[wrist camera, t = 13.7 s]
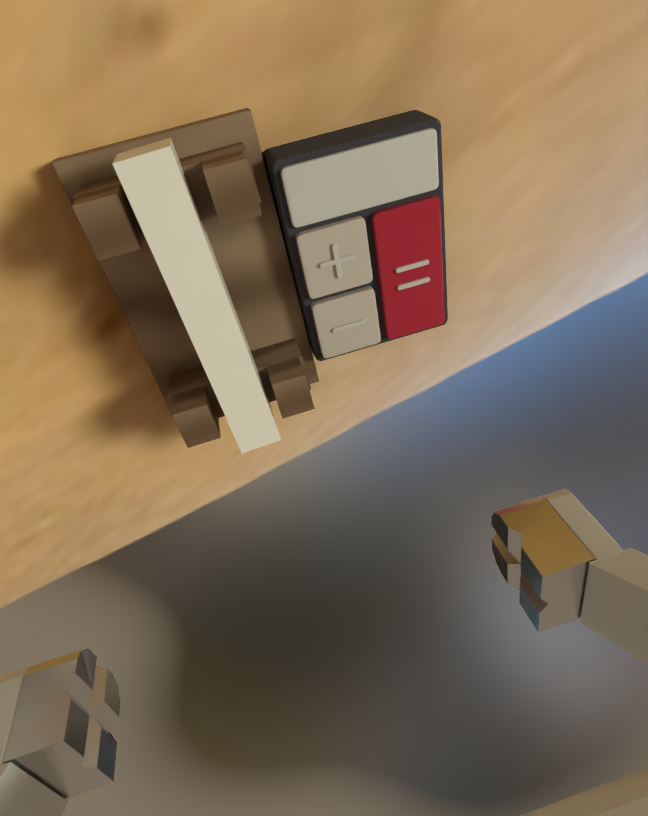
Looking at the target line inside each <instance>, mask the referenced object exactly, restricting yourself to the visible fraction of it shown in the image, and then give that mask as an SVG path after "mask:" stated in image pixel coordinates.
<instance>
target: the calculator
mask: <svg viewBox="0 0 648 816" xmlns="http://www.w3.org/2000/svg"><path fill="white" fill-rule="evenodd" d="M264 161H265V165H266V169H267V173H268V177H269V182H270V186H271V190H272V194H273V198H274V202H275V206H276V210H277V214H278V217H279V221H280V225H281V229H282V233H283V237H284V241H285V245H286V250H287V254H288V258H289V262H290V266H291V271H292V275H293V279H294V283H295V287H296V291H297V296H298V300H299V304H300V308H301V312H302V316H303V320H304V324H305V328H306V332H307V336H308V340H309V343H310V346H311V348H312V350H313V353H314V355H315V357H316V359H317V360H319V361H323V360H326V359H330V358H333V357H337V356H340V355H343V354H347V353H350V352H353V351H357V350H360V349H364V348H367V347H370V346H374V345H377V344H380V343H384V342H387V341H391V340H394V339H397V338H401V337H404V336H408V335H411V334H414V333H418V332H421V331H424V330H428V329H431V328H435V327H438V326H441V325H444V324H445V323H446V322H447V319H448V315H447V286H446V258H445V229H444V201H443V172H442V144H441V124H440V121H439V120H438V119H437V118H434V117H432V116H430V115H427V114H425V113H423V112H420V111H418V110H413V111H408V112H405V113H401V114H397V115H393V116H389V117H386V118H382V119H378V120H374V121H371V122H367V123H363V124H359V125H355V126H352V127H348V128H344V129H340V130H336V131H333V132H329V133H325V134H321V135H318V136H314V137H310V138H306V139H302V140H299V141H295V142H291V143H287V144H283V145H280V146H276V147H272V148H269V149H267V150H266V151H265V152H264Z"/></svg>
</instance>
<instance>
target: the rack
mask: <svg viewBox="0 0 648 816" xmlns="http://www.w3.org/2000/svg"><path fill="white" fill-rule="evenodd" d="M168 138H171V140H172V142H173V145H174V148H175V150H176V153H177V156H178V158H179V161H180V164H181V166H182V169H183V172H184V174H185V177H186V180H187V182H188V185H189V188H190V190H191V193H192V196H193V199H194V201H195V204H196V207H197V209H198V212H199V215H200V217H201V220H202V223H203V225H204V228H205V231H206V233H207V236H208V239H209V241H210V244H211V247H212V249H213V252H214V255H215V257H216V260H217V263H218V265H219V268H220V271H221V273H222V276H223V279H224V282H225V284H226V287H227V290H228V292H229V295H230V298H231V300H232V303H233V306H234V308H235V311H236V314H237V316H238V319H239V322H240V324H241V327H242V330H243V332H244V335H245V338H246V340H247V343H248V346H249V348H250V351H251V354H252V357H253V359H254V362H255V365H256V367H257V370H258V373H259V375H260V378H261V381H262V383H263V386H264V389H265V391H266V394H267V397H268V399H269V402H271V401H275V400H277V403H278V406H279V409H280V412H281V415H282V419H283V418H286V417H289V416H292V415H296V414H299V413H302V412H305V411H309V410H312V409H314V405H313V402H312V398H311V394H310V391H309V390H311V387H310V384H312V383H315V382H318V381H319V379H318V375H317V371H316V367H315V364H314V360H313V356H312V352H311V348H310V344H309V340H308V336H307V332H306V328H305V324H304V320H303V316H302V312H301V308H300V304H299V300H298V296H297V292H296V288H295V284H294V280H293V276H292V273H291V269H290V265H289V261H288V257H287V253H286V249H285V245H284V241H283V237H282V233H281V229H280V225H279V221H278V217H277V213H276V209H275V205H274V201H273V197H272V193H271V189H270V185H269V181H268V178H267V174H266V170H265V166H264V162H263V158H262V154H261V150H260V146H259V142H258V138H257V134H256V130H255V126H254V122H253V118H252V114H251V110H250V109H248V108H245V109H242V110H238V111H234V112H230V113H227V114H223V115H219V116H215V117H212V118H208V119H204V120H200V121H197V122H193V123H189V124H185V125H182V126H178V127H174V128H170V129H167V130H163V131H159V132H155V133H151V134H148V135H144V136H140V137H136V138H133V139H129V140H125V141H121V142H118V143H114V144H110V145H106V146H103V147H99V148H95V149H91V150H88V151H84V152H80V153H76V154H73V155H69V156H65V157H61V158H57V159H56V160H55V161H54V162H53V163H52V164H53V166H54V168H55V170H56V172H57V175H58V177H59V179H60V181H61V183H62V185H63V187H64V189H65V191H66V193H67V195H68V197H69V200H70V202H71V204H72V208H73V210H74V212H75V214H76V216H77V218H78V220H79V222H80V224H81V227H82V229H83V231H84V233H85V235H86V237H87V239H88V241H89V243H90V245H91V247H92V249H93V252H94V254H95V256H96V258H97V260H98V261H99V262H100V264H101V266H102V268H103V270H104V273H105V275H106V277H107V279H108V281H109V283H110V285H111V287H112V289H113V291H114V293H115V295H116V298H117V300H118V302H119V304H120V306H121V308H122V310H123V312H124V314H125V316H126V318H127V320H128V323H129V325H130V327H131V329H132V331H133V333H134V335H135V337H136V339H137V341H138V343H139V345H140V348H141V350H142V352H143V354H144V356H145V358H146V360H147V362H148V364H149V366H150V368H151V371H152V373H153V375H154V377H155V379H156V381H157V383H158V385H159V387H160V389H161V391H162V393H163V396H164V398H165V400H166V402H167V404H168V406H169V408H170V410H171V412H172V416H173V418H174V420H175V422H176V424H177V426H178V428H179V430H180V432H181V435H182V437H183V439H184V441H185V443H186V445H187V447H188V448H189V447H192V446H195V445H199V444H202V443H205V442H208V441H212V440H215V439H218V438H221V437H220V428H219V420H218V418H219V417H223V416H225V415H224V412H223V410H222V408H221V406H220V403H219V401H218V399H217V397H216V394H215V392H214V390H213V388H212V385H211V383H210V381H209V379H208V377H207V374H206V372H205V370H204V368H203V365H202V363H201V361H200V359H199V356H198V354H197V352H196V350H195V347H194V345H193V343H192V341H191V339H190V336H189V334H188V332H187V330H186V327H185V325H184V323H183V321H182V318H181V316H180V314H179V312H178V309H177V307H176V305H175V303H174V301H173V298H172V296H171V294H170V292H169V289H168V287H167V285H166V283H165V280H164V278H163V276H162V274H161V271H160V269H159V267H158V265H157V263H156V260H155V258H154V256H153V254H152V251H151V249H150V247H149V245H148V242H147V240H146V238H145V236H144V233H143V231H142V229H141V227H140V225H139V222H138V220H137V218H136V216H135V213H134V211H133V209H132V207H131V204H130V202H129V200H128V198H127V195H126V193H125V191H124V189H123V187H122V184H121V182H120V180H119V178H118V175H117V173H116V171H115V169H114V166H113V164H112V163H113V161H114V160H115V158H116V156H117V154H119V153H122V152H125V151H128V150H132V149H135V148H138V147H141V146H145V145H148V144H151V143H155V142H158V141H161V140H164V139H168Z"/></svg>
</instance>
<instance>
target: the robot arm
mask: <svg viewBox="0 0 648 816" xmlns="http://www.w3.org/2000/svg"><path fill="white" fill-rule="evenodd" d="M491 525H492V526H493V528H494V530H495V531H496V534H495V535H494V537H493V538H492V551H493V554H494V557H495V560H496V563H497V565H498V567H499V570H500V572H501V574H502V575H503V577H504V579H505V580H506V582H507V583H508V584H509V585H511V586H513V587H515V588H517V589H519V590H520V604H521V606H522V608H523V609H524V611H525V612H526V614H527V615H528V617H529V619H530V620H531V622H532V623H533V625H534V627H535V628H536V630H537V631H538V632H541V631H544V630H547V629H550V628H553V627H557V626H560V625H563V624H566V623H569V622H572V621H576V620H579V619H580V622H581V623H583V624H584V625H586V626H588V627H589V628H590V629H592V630H594V631H595V632H597V633H598V634H600V635H601V636H603V637H604V638H606V639H608V640H609V641H611V642H612V643H614V644H615V645H617V646H618V647H620V648H622V649H623V650H625V651H626V652H628V653H629V654H631V655H632V656H634V657H635V658H637V659H638V660H640V661H642V662H643V663H645V664H646V665H648V555H646V554H643V553H641V552H639V551H636V550H634V549H631V548H630V549H626V550H623V549H622V548H621V547H620V546H619V545H618V544H617V543H616V542H615V540H614V539H613V538H612V537H611V536H610V535H609V534H608V533H607V532H606V530H605V529H603V527H602V526H601V525H600V524H599V523H598V522H597V521H596V519H595V518H594V517H593V516H592V515H591V514H590V513H589V512H588V511H587V510H586V508H585V507H584V506H582V504H581V503H580V502H579V501H578V500H577V498H576V497H575V496H574V495H573V494H572V493H571V492H570V491H568V490H566V489H561V490H558V491H555V492H552V493H550V494H547V495H544V496H541V497H536V498H533V499H530V500H527V501H524V502H521V503H518V504H516V505H513V506H510V507H507V508H504V509H501V510H499V511H496V512H494V513H493V514H492V516H491ZM96 660H97V656H96V655H95V654H94V653H93V652H92V651H91V650H89V649H88V648H87V649H84V650H81V651H78V652H74V653H71V654H68V655H65V656H62V657H58V658H55V659H52V660H49V661H46V662H42V663H39V664H36V665H32V666H29V667H26V668H23V669H20V670H17V671H14V672H11V673H8V674H5V675H3V676H2V677H1V679H0V816H61V815H62V814H63V812H64V810H65V808H66V806H67V804H68V801H67V799H69V798H72V797H74V796H77V795H80V794H82V793H85V792H88V791H90V790H93V789H96V788H98V787H101V786H103V785H106V784H109V783H111V782H114V771H115V760H116V748H117V741H116V740H115V739H114V737H113V736H112V734H111V733H110V731H111V730H112V728H113V726H114V725H115V723H116V721H117V720H118V718H119V712H120V696H119V689H118V684H117V682H116V680H115V677H114V675H113V674H112V673H111V672H110V670H109V669H108V668H104V667H100V666H96ZM522 816H648V768H646V769H644V770H641V771H638V772H636V773H633V774H630V775H628V776H625V777H623V778H620V779H617V780H615V781H612V782H609V783H606V784H604V785H601V786H598V787H596V788H593V789H590V790H588V791H585V792H582V793H580V794H578V795H574V796H572V797H569V798H566V799H564V800H561V801H559V802H556V803H553V804H550V805H548V806H545V807H543V808H540V809H538V810H535V811H532V812H529V813H527V814H524V815H522Z"/></svg>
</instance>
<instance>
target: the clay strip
mask: <svg viewBox="0 0 648 816" xmlns="http://www.w3.org/2000/svg"><path fill="white" fill-rule="evenodd" d="M112 164H113V166H114V169H115V171H116V173H117V175H118V178H119V180H120V182H121V184H122V187H123V189H124V191H125V193H126V195H127V198H128V200H129V202H130V204H131V207H132V209H133V211H134V213H135V216H136V218H137V220H138V222H139V225H140V227H141V229H142V231H143V233H144V236H145V238H146V240H147V242H148V245H149V247H150V249H151V251H152V254H153V256H154V258H155V260H156V263H157V265H158V267H159V269H160V271H161V274H162V276H163V278H164V280H165V283H166V285H167V287H168V289H169V292H170V294H171V296H172V298H173V301H174V303H175V305H176V307H177V309H178V312H179V314H180V316H181V318H182V321H183V323H184V325H185V327H186V330H187V332H188V334H189V336H190V339H191V341H192V343H193V345H194V347H195V350H196V352H197V354H198V356H199V359H200V361H201V363H202V365H203V368H204V370H205V372H206V374H207V377H208V379H209V381H210V383H211V385H212V388H213V390H214V392H215V394H216V397H217V399H218V401H219V403H220V406H221V408H222V410H223V412H224V415H225V417H226V419H227V421H228V423H229V426H230V428H231V430H232V432H233V435H234V437H235V439H236V441H237V444H238V446H239V448H240V450H241V453H244V452H247V451H250V450H253V449H256V448H259V447H262V446H265V445H268V444H271V443H274V442H277V441H280V440H281V437H280V433H279V430H278V426H277V422H276V419H275V415H274V413H273V410H272V407H271V405H270V402H269V399H268V397H267V394H266V391H265V389H264V386H263V383H262V381H261V378H260V375H259V373H258V370H257V367H256V365H255V362H254V359H253V357H252V354H251V351H250V348H249V346H248V343H247V340H246V338H245V335H244V332H243V330H242V327H241V324H240V322H239V319H238V316H237V314H236V311H235V308H234V306H233V303H232V300H231V298H230V295H229V292H228V290H227V287H226V284H225V282H224V279H223V276H222V273H221V271H220V268H219V265H218V263H217V260H216V257H215V255H214V252H213V249H212V247H211V244H210V241H209V239H208V236H207V233H206V231H205V228H204V225H203V223H202V220H201V217H200V215H199V212H198V209H197V207H196V204H195V201H194V199H193V196H192V193H191V190H190V188H189V185H188V182H187V180H186V177H185V174H184V172H183V169H182V166H181V164H180V161H179V158H178V156H177V153H176V150H175V148H174V145H173V142H172V140H171V138H168V139H164V140H161V141H158V142H155V143H151V144H148V145H145V146H141V147H138V148H135V149H132V150H128V151H125V152H122V153H119V154H117V156H116V158H115V160H114V161H113V163H112Z"/></svg>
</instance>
